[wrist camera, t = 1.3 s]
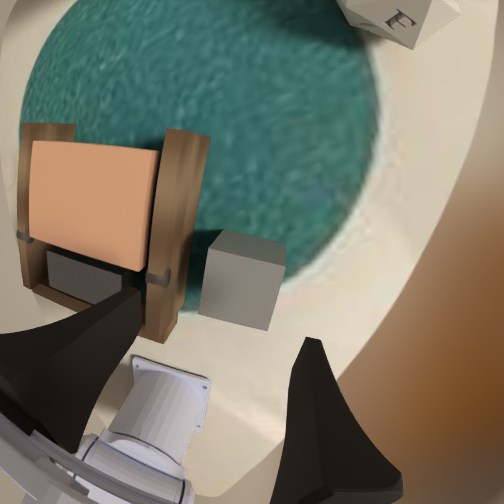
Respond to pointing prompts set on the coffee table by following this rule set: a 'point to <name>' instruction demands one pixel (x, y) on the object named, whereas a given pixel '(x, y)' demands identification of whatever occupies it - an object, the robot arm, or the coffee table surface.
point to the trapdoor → (91, 214)
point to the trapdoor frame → (162, 233)
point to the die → (400, 18)
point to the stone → (242, 279)
